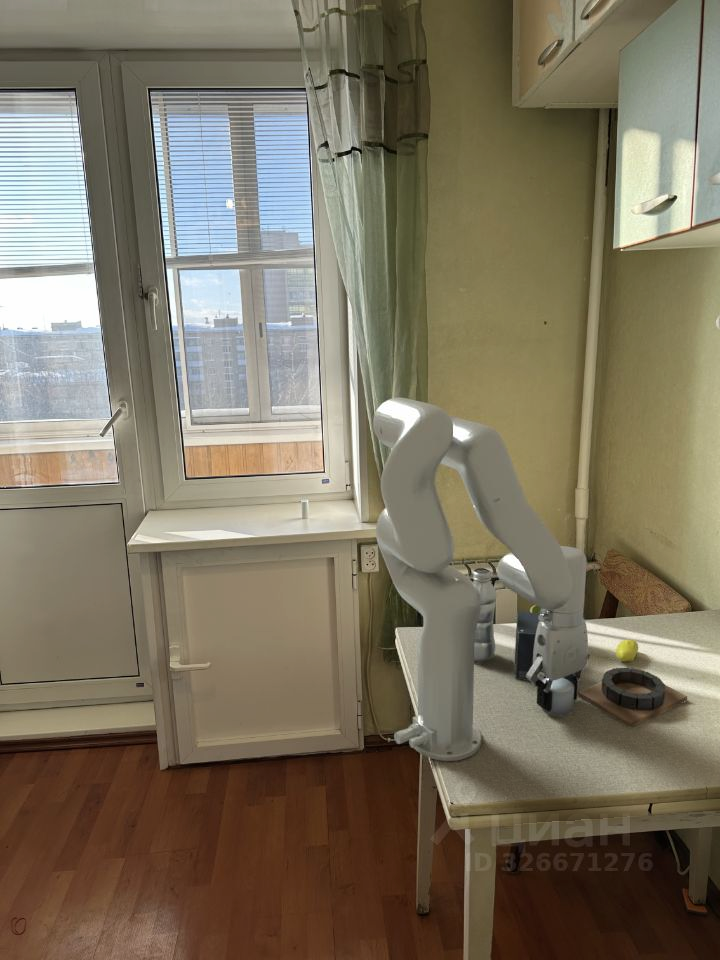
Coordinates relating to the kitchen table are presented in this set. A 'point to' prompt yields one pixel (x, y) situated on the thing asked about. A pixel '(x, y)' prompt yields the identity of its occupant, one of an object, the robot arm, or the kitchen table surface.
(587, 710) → the kitchen table surface
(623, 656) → the lemon
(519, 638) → the small box
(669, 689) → the board
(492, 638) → the plastic bottle
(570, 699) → the cap
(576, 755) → the kitchen table surface
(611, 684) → the segmented ring
